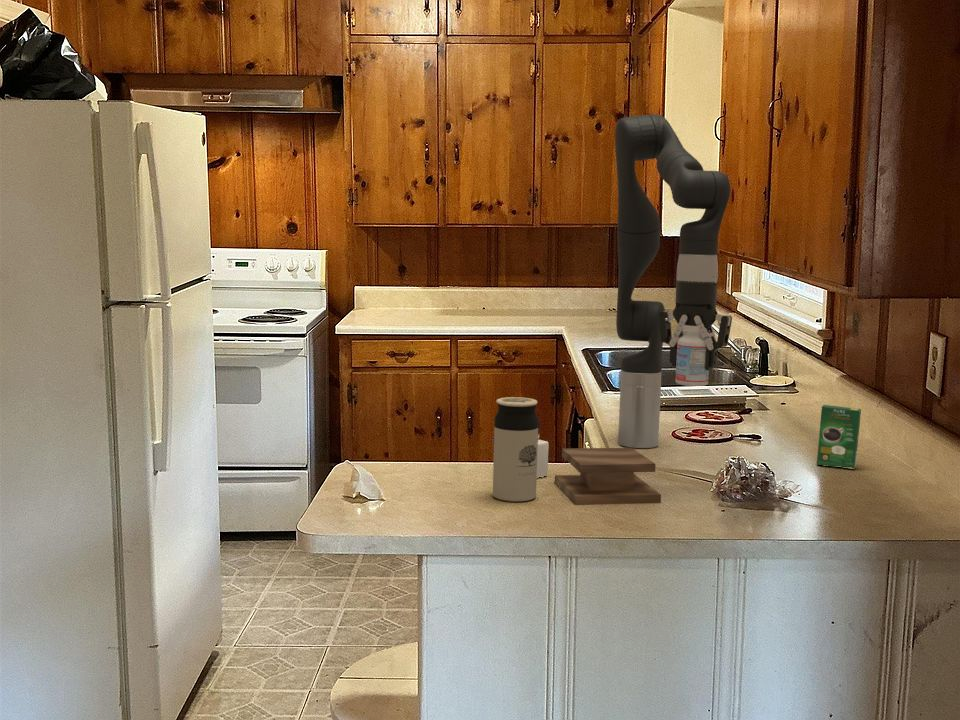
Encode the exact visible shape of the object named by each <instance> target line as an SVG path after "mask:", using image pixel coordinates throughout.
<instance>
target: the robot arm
mask: <svg viewBox="0 0 960 720" xmlns="http://www.w3.org/2000/svg"><path fill="white" fill-rule="evenodd" d="M614 130H615V132H614V149H615V150H614V151H615V162H616V164H615V165H616V177H617V193H618V194H617V257H618V258H617V260H618V263H617V264H618V281H617V282H618V283H617V300H616V301H617V302H616V303H617V304H616V321H615V323H616V324H615V325H616V333H617V337H618V338H619V339H620V340H622V341H632V342H648V345H647V347H646V348H644V349H643V350H641V351H639V352H636V353H633V354H629V355H626V356H624V357H623V358H622V359H621V362H620V385H619V386H620V387H619V388H620V389H619V391H620V392H619V409H618V412H619V413H618V435H617V443H618V445H619V446H622V447H625V448H633V449H634V448H637V449H650V448H657V447H658V446H659V437H660V435H659V434H660V433H659V431H660V418H661V417H660V416H661V412H660V411H661V393H662V392H661V391H662V370H663V369H662V364H663V363H662V362H663V345H664V344H666V345H668V346H669V363H670V364H671V366H672V367H673V368H674V367H675V368H676V359H677V342H678V339H679V338H680V337H681V336H683V333H682V330H683V325H691V326H699V331H700V334H701V336H702V338H703V339H704V341H705V343H706V346H707V348H708V350H706V363H705V369H706V370H709V371H712V370H713V369H714V368H715V367H716V365H717V358H718V357H717V356H718V355H717V353H718V351H719V349H722V348H726V347H727V346H728V344H729V339H730V333H731V328H732V321H733V316H732V315H730V314H727V315H724V314H719V313H718V310H717V296H718V295H717V294H718V279H719V264H718V252H719V251H718V250H719V249H718V248H719V235H720V234H719V233H720V229H721V226H722V222H723V218H724V216H725V211H726V209H727V208H728V207H727V206H728V203H729V200H730V197H731V193H732V191H731V190H732V187H731V181H730V179H729V177H728V176H727V174H726V173H724V172H723V171H718V170H704V167H703V166H702V163H700V162H699V160H698V159H697V158H695V156H693V155H692V154H691V153H690V152H688V151H687V149H685V147H684V146H683V144H682V142H681V140H680V138H679V137H678V135H677V133H676V132H675V130H674V129H673V127H672V125H671V124H670V122H669V121H668V120H667V118H666V117H664V116H663V115H661V114H654V113H653V114H644V115H643V114H641V115H635V116H626V117H622V118H619V119H618V120H617V123H616V125H615V129H614ZM655 159H656V169H657V172H658V175H659V176H660V178H661V179H662V180H663V181H664V182H665V183H666V184H667V185H668V186H669V189H670V191H671V198H672V200H673V202H674V203H675V205H676V206H678V207H680V208H683V209H686V210H687V209H690V210H691V209H692V210H694V209H695V210H704V213H703V214H702V216H701V217H700V219H699V220H694V221H690V222H689V221H688V222H685V223H683V224H682V225H681V227H680V231H679V246H678V259H677V265H676V279H675V280H676V282H675V299H674V300H675V302H674V303H675V307H674V309H673V310H670V311H669V310H666V309H665V305H664V304H663V303H662V302H661V301H654V300H652V301H651V300H633V298H632V295H633V292H634V290H635V287H636V285H637V284H638V282H639V281H640V279H641V277H642V275H643V274H644V273H645V272H646V269H648V267H649V266H650V265H651V263H652V262H653V261H654V259H655V258H656V256H657V254H658V252H659V249H660V245H661V243H660V242H661V241H660V240H661V220H660V215H659V213H658V211H657V208H656V207H655V206H654V205H653V202H652V201H651V199H649V197H648V196H647V195H646V193H645V191H644V189H643V188H642V186H641V184H640V183H639V180H638V178H637V174H636V162H639V161H648V160H655ZM673 319H675V322H676V323H677V325H676V328H675V329H674V331H673V333H672V322H673ZM716 321H717V325H718V326H719V329H718V334H717V335H718V336H717V338H716V334H715V331H714V329H713V328H714V327H713V324H714V323H715V322H716ZM663 343H664V344H663Z"/></svg>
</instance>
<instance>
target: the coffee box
mask: <svg viewBox="0 0 960 720" xmlns="http://www.w3.org/2000/svg"><path fill="white" fill-rule="evenodd" d="M820 411H821V412H820V423H819V431H818V432H819V434H818V444H817V445H818V447H817V456H816V457H817V458H816V459H817V460H816V466H817V465H826V466H827V465H828V466H841V467H852V468H855V469H856V467H855V466H857V456H858V447H859V435H860V427H861V426H860V424H861V416H862V415H861V413H862V408H855V407H846V406H838V405H830V404H822V406H821V410H820Z"/></svg>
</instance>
